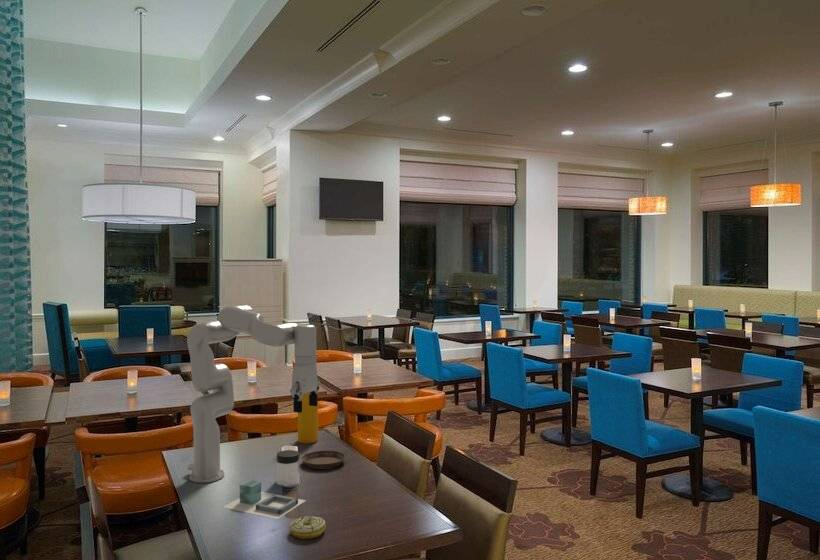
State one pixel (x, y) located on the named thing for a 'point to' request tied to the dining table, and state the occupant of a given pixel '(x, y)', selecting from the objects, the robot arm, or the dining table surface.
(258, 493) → the teal block
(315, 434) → the beer bottle
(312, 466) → the plant saucer
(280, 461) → the jar
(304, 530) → the decorated donut
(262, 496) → the board
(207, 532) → the dining table surface
